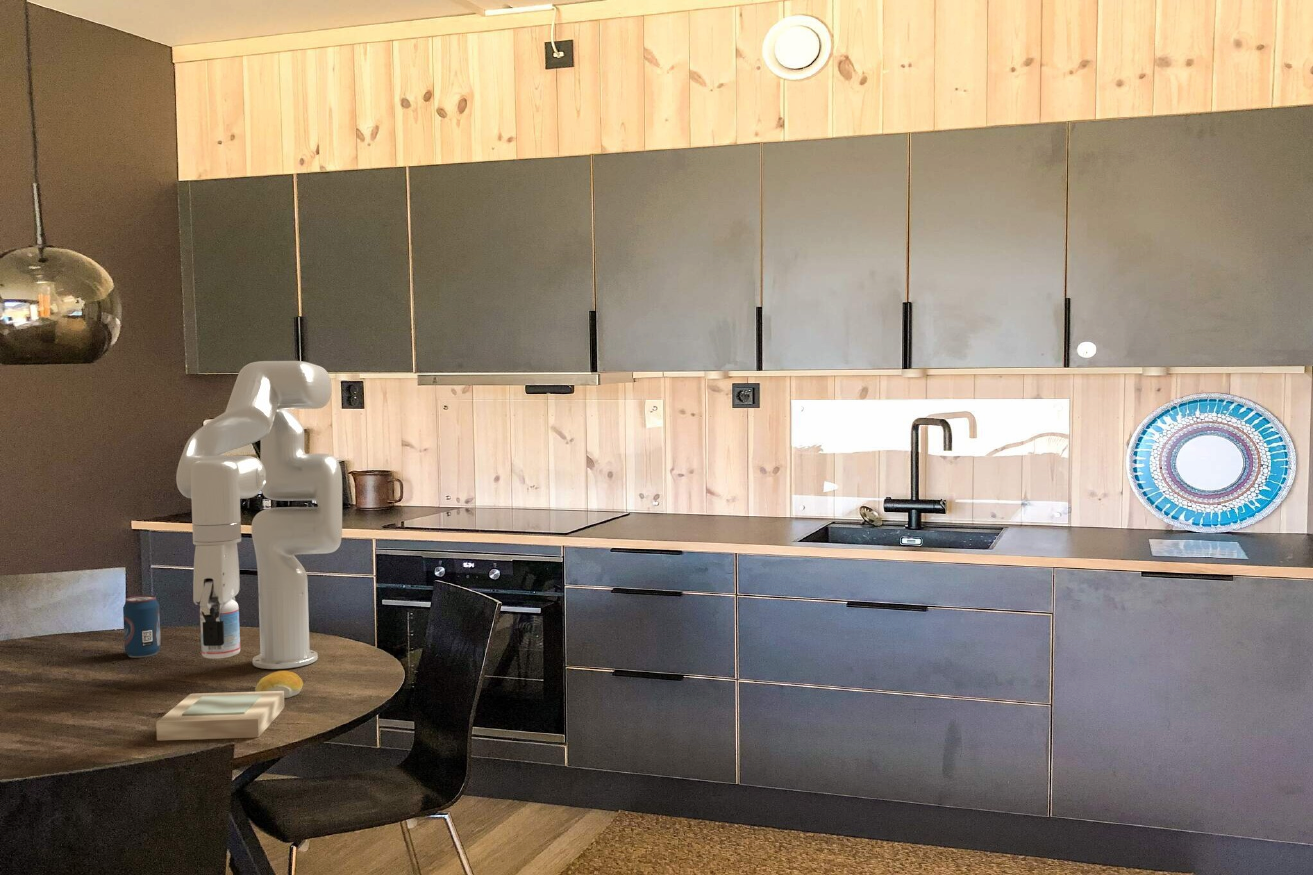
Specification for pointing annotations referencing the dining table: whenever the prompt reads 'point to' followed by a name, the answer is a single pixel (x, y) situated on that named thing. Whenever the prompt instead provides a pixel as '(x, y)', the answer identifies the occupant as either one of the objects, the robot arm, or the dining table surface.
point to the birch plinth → (221, 715)
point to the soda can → (141, 626)
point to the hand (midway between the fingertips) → (220, 639)
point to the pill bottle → (225, 632)
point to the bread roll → (281, 683)
